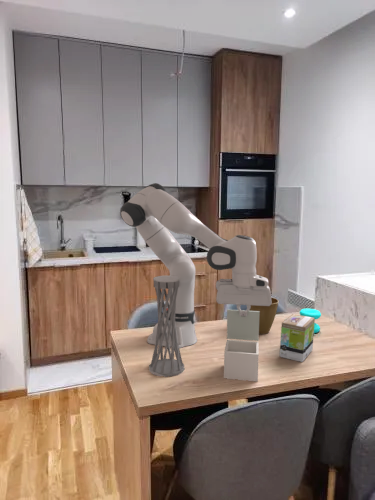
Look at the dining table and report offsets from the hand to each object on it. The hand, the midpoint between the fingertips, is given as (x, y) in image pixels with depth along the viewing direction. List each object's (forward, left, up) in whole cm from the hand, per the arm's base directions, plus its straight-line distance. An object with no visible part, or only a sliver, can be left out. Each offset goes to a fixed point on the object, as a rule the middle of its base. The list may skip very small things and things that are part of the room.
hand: (243, 316), depth 142 cm
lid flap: (0, +2, -4) cm, 5 cm away
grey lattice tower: (-28, -5, -21) cm, 35 cm away
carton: (0, -3, -21) cm, 21 cm away
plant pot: (+8, +43, -21) cm, 48 cm away
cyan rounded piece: (+31, +49, -21) cm, 61 cm away
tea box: (+22, +19, -21) cm, 36 cm away
